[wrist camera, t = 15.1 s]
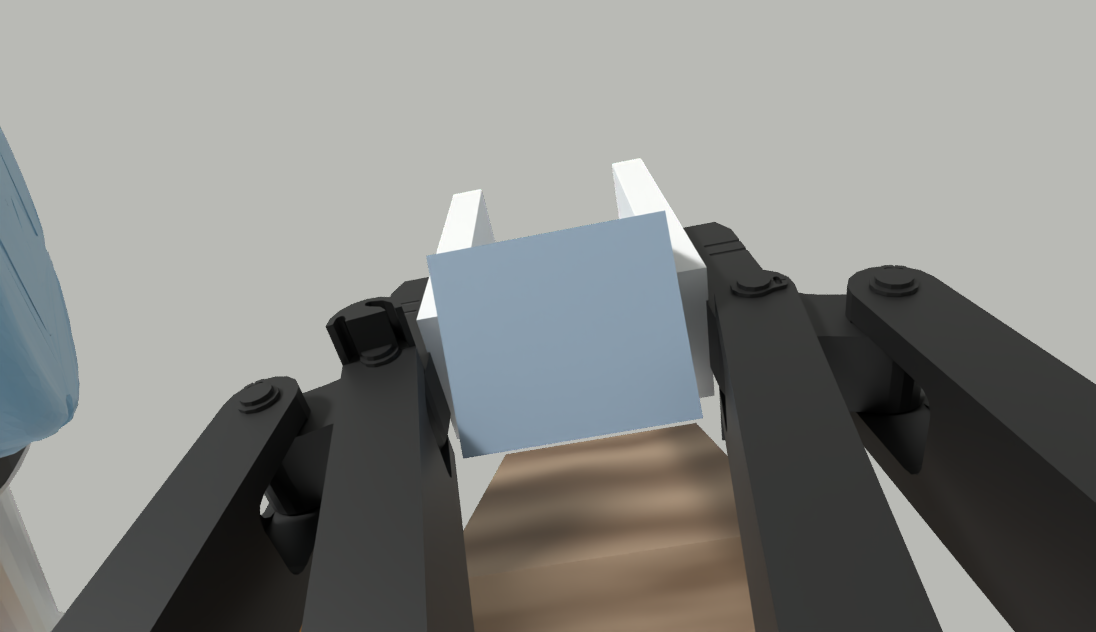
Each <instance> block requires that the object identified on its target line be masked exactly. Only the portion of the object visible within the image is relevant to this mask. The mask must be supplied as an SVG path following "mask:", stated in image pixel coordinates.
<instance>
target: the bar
mask: <svg viewBox="0 0 1096 632" xmlns="http://www.w3.org/2000/svg"><path fill="white" fill-rule="evenodd" d="M427 262H428V268H429V273H430V279H431V284H432V290H433V295H434V300H435V306H436V311H437V317H438V322H439V328H440V333H441V339H442V344H443V350H444V355H445V361H446V366H447V372H448V377H449V383H450V388H451V394H452V399H453V405H454V410H455V416H456V421H457V427H458V432H459V438H460V442H461V449H462V454H463V458H469V457H474V456H481V455H487V454H493V453H499V452H505V451H510V450H517V449H522V448H528V447H534V446H540V445H546V444H552V443H558V442H563V441H570V440H575V439H581V438H588V437H594V436H599V435H605V434H611V433H617V432H623V431H629V430H634V429H641V428H647V427H653V426H659V425H665V424H670V423H677V422H682V421H688V420H694V419H700V418H703V415H702V410H701V404H700V399H699V393H698V388H697V382H696V377H695V371H694V366H693V360H692V355H691V349H690V344H689V338H688V333H687V327H686V322H685V316H684V311H683V306H682V300H681V295H680V289H679V284H678V278H677V273H676V267H675V262H674V256H673V251H672V245H671V240H670V234H669V229H668V223H667V218H666V212H665V210H664V211H659V212H654V213H648V214H643V215H638V216H633V217H628V218H622V219H617V220H612V221H607V222H601V223H596V224H591V225H586V226H580V227H575V228H570V229H565V230H560V231H555V232H549V233H544V234H538V235H533V236H528V237H523V238H517V239H512V240H507V241H502V242H497V243H491V244H486V245H481V246H475V247H470V248H465V249H460V250H455V251H449V252H444V253H439V254H434V255H428V256H427Z"/></svg>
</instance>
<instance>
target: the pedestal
mask: <svg viewBox="0 0 1096 632" xmlns="http://www.w3.org/2000/svg"><path fill="white" fill-rule="evenodd" d="M463 535H464V543H465V552H466V561H467V570H468V579H469V587H470V596H471V605H472V614H473V623H474V632H755V626H754V620H753V613H752V607H751V600H750V594H749V588H748V581H747V575H746V569H745V562H744V556H743V549H742V543H741V537H740V530H739V524H738V517H737V511H736V505H735V498H734V492H733V485H732V479H731V473H730V466H729V460H728V456H727V455H726V454H725V453H724V452H723V451H722V450H721V449H720V448H719V447H718V446H717V445H716V444H715V442H714V441H713V440H712V439H711V438H710V437H709V436H708V435H707V434H706V433H705V432H704V431H703V430H702V429H701V428H700V427H699V426H698V425H697V424H696V423H693V424H688V425H682V426H675V427H669V428H663V429H657V430H651V431H645V432H639V433H633V434H627V435H621V436H615V437H609V438H603V439H597V440H591V441H584V442H578V443H573V444H566V445H560V446H554V447H548V448H542V449H536V450H530V451H524V452H518V453H512V454H506V455H505V457H504V459H503V461H502V463H501V465H500V466H499V468H498V470H497V471H496V473H495V475H494V477H493V479H492V480H491V482H490V484H489V486H488V488H487V489H486V491H485V493H484V495H483V497H482V498H481V500H480V502H479V504H478V506H477V507H476V509H475V511H474V513H473V515H472V516H471V518H470V520H469V522H468V524H467V525H466V527H465V529H464V531H463Z"/></svg>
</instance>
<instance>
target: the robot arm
mask: <svg viewBox="0 0 1096 632" xmlns="http://www.w3.org/2000/svg"><path fill="white" fill-rule="evenodd" d="M612 169H613V177H614V184H615V191H616V199H617V205H618V214H619V219H622V218H628V217H633V216H638V215H643V214H648V213H654V212H659V211H664V210H665V212H666V218H667V223H668V229H669V234H670V240H671V245H672V251H673V256H674V262H675V267H676V273H677V278H678V284H679V289H680V295H681V300H682V306H683V311H684V316H685V322H686V327H687V333H688V338H689V344H690V349H691V355H692V360H693V366H694V371H695V377H696V382H697V388H698V393H699V398H702V397H708V396H713V395H714V382H713V374H714V376H715V378H716V380H717V383H718V385H719V391H720V409H721V427H722V440H725V441H726V447H727V453H728V460H729V466H730V473H731V479H732V485H733V492H734V498H735V505H736V511H737V517H738V524H739V530H740V537H741V543H742V549H743V556H744V562H745V569H746V575H747V581H748V588H749V594H750V600H751V607H752V613H753V620H754V626H755V632H943V631H942V629H941V627H940V624H939V622H938V619H937V617H936V615H935V612H934V610H933V608H932V605H931V603H930V601H929V598H928V596H927V594H926V591H925V589H924V587H923V584H922V582H921V579H920V577H919V575H918V573H917V570H916V568H915V565H914V563H913V561H912V559H911V556H910V554H909V551H908V549H907V547H906V544H905V542H904V540H903V537H902V535H901V533H900V530H899V528H898V525H897V523H896V521H895V518H894V516H893V514H892V511H891V509H890V507H889V505H888V502H887V500H886V497H885V495H884V493H883V490H882V488H881V486H880V483H879V481H878V479H877V476H876V474H875V472H874V469H873V467H872V465H871V462H870V460H869V457H868V455H867V453H866V451H865V448H866V449H867V451H868V452H869V453H870V454H871V456H873V458H874V459H875V460H876V462H877V463H878V464H879V465H880V466H881V468H882V469H883V470H884V472H885V473H886V474H887V475H888V476H889V478H890V479H891V480H892V481H893V483H894V484H895V485H896V486H897V487H898V489H899V490H900V491H901V492H902V494H903V495H904V496H905V497H906V499H907V500H908V501H909V502H910V503H911V505H912V506H913V507H914V508H915V510H916V511H917V512H918V513H919V515H920V516H921V517H922V518H923V519H924V521H925V522H926V523H927V524H928V526H929V527H930V528H931V529H932V530H933V532H934V533H935V534H936V535H937V537H938V538H939V539H940V540H941V542H942V543H943V544H944V545H945V546H946V548H947V549H948V550H949V551H950V552H951V554H952V555H953V556H954V557H955V559H956V560H957V561H958V562H959V564H960V565H961V566H962V567H963V569H965V571H966V572H967V574H968V575H969V576H970V577H971V578H972V580H973V581H974V582H975V583H976V584H977V586H978V587H979V588H980V589H981V591H982V592H983V593H984V594H985V596H986V597H987V598H988V599H989V600H990V602H991V603H992V604H993V605H994V607H995V608H996V609H997V610H998V612H999V613H1000V614H1001V615H1002V617H1004V619H1005V620H1006V621H1007V622H1008V624H1009V625H1010V626H1011V628H1012V629H1013V630H1014V631H1015V632H1096V384H1094V383H1093V382H1091V381H1090V380H1088V379H1087V378H1085V377H1084V376H1082V375H1081V374H1079V373H1078V372H1076V371H1075V370H1073V369H1072V368H1070V367H1069V366H1067V365H1066V364H1064V363H1062V362H1061V361H1060V360H1058V359H1057V358H1055V357H1054V356H1052V355H1051V354H1049V353H1048V352H1046V351H1045V350H1043V349H1042V348H1040V347H1039V346H1037V345H1036V344H1034V343H1033V342H1031V341H1030V340H1028V339H1027V338H1025V337H1024V336H1022V335H1021V334H1019V333H1018V332H1016V331H1015V330H1013V329H1012V328H1010V327H1009V326H1007V325H1006V324H1004V323H1003V322H1001V321H1000V320H998V319H997V318H995V317H994V316H992V315H991V314H989V313H988V312H986V311H985V310H983V309H982V308H980V307H979V306H977V305H976V304H974V303H973V302H971V301H970V300H968V299H967V298H965V297H964V296H962V295H961V294H959V293H958V292H956V291H955V290H953V289H952V288H950V287H949V286H947V285H946V284H944V283H943V282H941V281H940V280H938V279H937V278H935V277H934V276H932V275H930V274H927V273H925V272H923V271H921V270H916V269H911V268H907V267H905V266H898V265H895V266H893V265H884V266H881V267H873V268H868V269H865V270H862V271H859V272H857V273H855V274H854V275H853V276H852V277H850V278H849V280H848V285H847V295H814V294H803V293H798V291H797V289H796V286H795V284H794V283H793V282H792V281H791V279H789V277H787V276H784V275H782V274H780V273H778V272H773V271H767V270H762V268H761V267H760V265H759V264H758V263H757V262H756V260H755V259H754V258H753V257H752V255H751V254H750V253H749V251H748V250H746V248H745V246H744V245H743V244H742V243H741V241H739V239H738V237H737V236H736V235H735V234H734V232H733V231H732V230H731V229H729V228H727V227H725V226H723V225H720V224H718V223H716V222H712V223H707V224H701V225H696V226H691V227H685V228H683V227H682V226H681V224H680V223H679V221H678V219H677V218H676V216H675V214H674V213H673V211H672V209H671V208H670V206H669V204H668V203H667V201H666V199H665V198H664V196H663V194H662V193H661V191H660V189H659V188H658V187H657V184H656V183H655V181H654V180H653V178H652V176H651V175H650V173H649V171H648V170H647V168H646V166H645V165H644V163H643V161H642V160H641V158H638V159H633V160H628V161H623V162H618V163H613V164H612ZM491 243H495V240H494V237H493V232H492V228H491V224H490V220H489V216H488V212H487V208H486V204H485V200H484V196H483V192H482V189H479V190H474V191H469V192H464V193H459V194H454V195H453V199H452V202H451V206H450V209H449V212H448V216H447V219H446V223H445V226H444V229H443V232H442V236H441V239H440V242H439V246H438V249H437V253H436V254H439V253H444V252H449V251H455V250H460V249H465V248H470V247H475V246H481V245H486V244H491ZM326 328H327V331H328V333H329V335H330V337H331V340H332V342H333V344H334V347H335V349H336V351H337V353H338V356H339V358H340V360H341V362H342V365H343V367H342V374H341V379H339V380H337V381H334V382H332V383H330V384H327V385H324V386H322V387H319V388H316V389H313V390H311V391H308V392H305V393H302V392H301V390H300V388H299V385H298V383H297V381H296V380H295V379H293V378H290V377H287V376H286V377H272V378H268V379H261V380H259V381H256V382H255V383H251V384H249V385H247V386H245V387H244V389H242V390H241V391H240V392H238V393H236V394H235V395H233V396H232V397H231V398H230V399H229V400H228V401H227V402H226V403H225V404H224V405H223V407H222V408H221V409H220V410H219V412H218V413H217V414H216V416H215V417H214V418H213V420H212V421H211V422H210V424H209V425H208V426H207V427H206V429H205V430H204V431H203V433H202V434H201V435H200V437H199V438H198V439H197V441H196V442H195V443H194V445H193V446H192V447H191V449H190V450H189V451H188V453H187V454H186V455H185V456H184V458H183V459H182V460H181V462H180V463H179V464H178V466H177V467H176V468H175V470H174V471H173V472H172V473H171V475H170V476H169V477H168V479H167V480H166V481H165V483H164V484H163V485H162V487H161V488H160V489H159V491H158V492H157V493H156V494H155V496H154V497H153V498H152V500H151V501H150V502H149V504H148V505H147V506H146V508H145V509H144V510H143V511H142V513H141V514H140V516H139V517H138V518H137V519H136V521H135V522H134V523H133V525H132V526H131V527H130V529H129V530H128V531H127V533H126V534H125V535H124V536H123V538H122V539H121V541H120V542H119V543H118V544H117V546H116V547H115V548H114V550H113V551H112V552H111V554H110V555H109V556H108V557H107V559H106V560H105V561H104V563H103V564H102V565H101V567H100V568H99V569H98V571H97V572H96V573H95V575H94V576H93V577H92V578H91V580H90V581H89V582H88V584H87V585H86V586H85V588H84V589H83V590H82V592H81V593H80V594H79V596H78V597H77V598H76V599H75V601H74V602H73V604H72V605H71V606H70V607H69V609H68V610H67V611H66V613H63V612H59V611H58V609H57V606H56V604H55V601H54V599H53V596H52V594H51V591H50V588H49V586H48V583H47V581H46V578H45V576H44V573H43V571H42V568H41V566H40V563H39V561H38V558H37V555H36V553H35V550H34V548H33V545H32V543H31V540H30V538H29V535H28V533H27V530H26V528H25V525H24V523H23V520H22V517H21V515H20V512H19V510H18V508H17V505H16V503H15V500H14V497H13V495H12V492H11V490H10V487H9V484H10V482H11V481H12V479H13V478H14V476H15V475H16V473H17V472H18V470H19V468H20V467H21V465H22V463H23V461H24V458H25V456H26V454H27V452H28V450H29V447H30V444H31V442H33V441H39V440H42V439H44V438H47V437H49V436H51V435H53V434H55V433H56V432H58V430H59V429H60V428H61V427H62V426H64V425H65V424H67V423H68V422H69V421H70V420H72V418H73V415H74V413H75V411H76V408H77V406H78V399H79V379H78V364H77V357H76V351H75V346H74V342H73V338H72V333H71V327H70V321H69V318H68V313H67V309H66V305H65V301H64V298H63V294H62V290H61V287H60V283H59V281H58V278H57V275H56V273H55V270H54V268H53V264H52V261H51V259H50V256H49V253H48V252H47V250H46V248H45V242H44V235H43V230H42V227H41V224H40V221H39V218H38V215H37V212H36V209H35V207H34V204H33V201H32V199H31V196H30V193H29V191H28V188H27V186H26V184H25V181H24V178H23V176H22V173H21V171H20V169H19V167H18V164H17V162H16V160H15V158H14V155H13V153H12V150H11V148H10V146H9V144H8V142H7V140H6V138H5V136H4V134H3V132H2V130H1V128H0V632H299V631H300V628H301V626H302V628H301V632H474V623H473V614H472V605H471V596H470V587H469V579H468V570H467V561H466V552H465V543H464V535H463V526H462V517H461V508H460V500H459V492H458V482H457V474H456V464H455V455H454V452H453V449H452V446H451V443H450V441H449V438H448V435H447V434H448V429H449V423H450V419H451V422H452V425H453V427H454V430H455V433H456V436H457V439H460V438H459V432H458V427H457V421H456V416H455V410H454V405H453V399H452V394H451V388H450V383H449V377H448V372H447V366H446V361H445V355H444V350H443V344H442V339H441V333H440V328H439V322H438V317H437V311H436V306H435V300H434V295H433V290H432V284H431V279H430V276H429V277H427V278H422V279H417V280H411V281H405V282H404V283H403V284H402V285H401V286H399V287H398V288H397V289H396V290H395V291H394V292H393V293H392V294H391V297H377V298H371V299H366V300H363V301H360V302H357V303H354V304H351V305H350V306H348V307H346V308H344V309H342V310H340V311H339V312H338V313H336V314H335V315H334V316H333V317H332V318H330V320H329V322H328V323H327V325H326ZM864 447H865V448H864ZM264 494H265V496H266V498H267V499H268V501H269V505H268V506H267V508H266V510H265V512H264V513H263V514H262V515H260V504H261V501H262V498H263V495H264Z"/></svg>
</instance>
